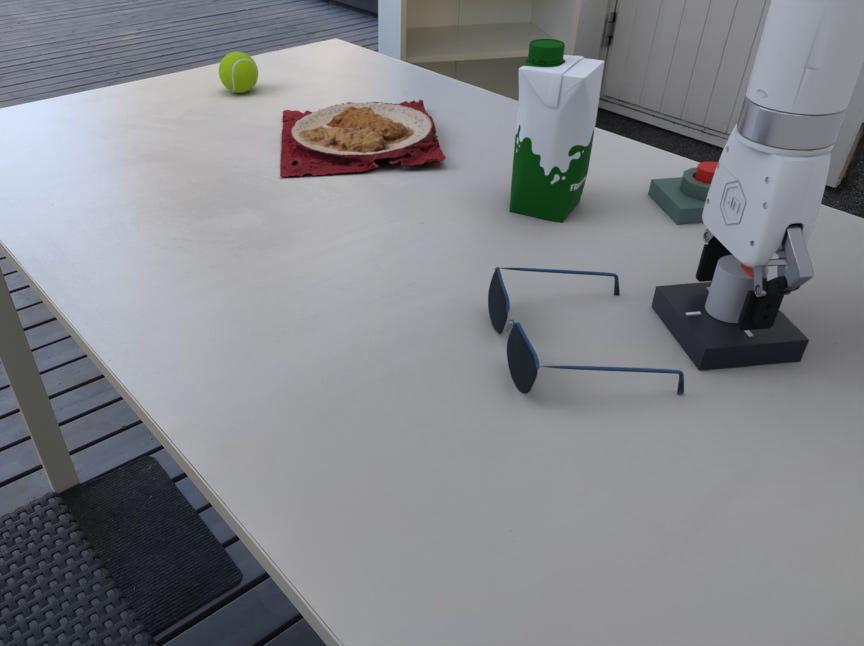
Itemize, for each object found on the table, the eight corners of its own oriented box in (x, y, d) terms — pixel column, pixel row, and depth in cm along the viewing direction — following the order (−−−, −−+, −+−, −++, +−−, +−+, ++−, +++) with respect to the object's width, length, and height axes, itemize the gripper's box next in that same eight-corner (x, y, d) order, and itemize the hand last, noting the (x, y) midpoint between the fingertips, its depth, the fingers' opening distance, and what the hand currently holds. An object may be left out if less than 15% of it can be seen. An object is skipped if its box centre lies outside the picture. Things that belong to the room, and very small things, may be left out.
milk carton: (525, 187, 101) (541, 31, 89) (589, 200, 98) (615, 40, 86) (499, 212, 95) (513, 49, 83) (567, 228, 92) (592, 60, 80)
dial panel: (742, 298, 78) (749, 277, 77) (800, 361, 70) (810, 338, 68) (651, 306, 78) (656, 284, 76) (699, 370, 69) (706, 347, 67)
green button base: (726, 189, 100) (734, 160, 98) (761, 219, 93) (770, 189, 90) (647, 194, 99) (653, 165, 97) (676, 225, 92) (684, 195, 90)
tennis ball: (215, 91, 137) (209, 51, 133) (248, 83, 140) (244, 44, 136) (232, 100, 133) (227, 60, 128) (267, 92, 136) (262, 52, 132)
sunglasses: (482, 302, 79) (491, 260, 76) (612, 308, 81) (627, 268, 78) (521, 408, 65) (534, 362, 62) (677, 412, 67) (697, 368, 64)
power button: (716, 173, 95) (719, 160, 94) (730, 185, 92) (733, 171, 91) (689, 175, 95) (692, 162, 94) (702, 186, 92) (706, 173, 91)
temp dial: (696, 300, 74) (709, 253, 70) (738, 296, 74) (753, 249, 71) (718, 325, 70) (733, 277, 67) (762, 321, 71) (779, 273, 67)
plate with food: (423, 111, 127) (423, 90, 125) (446, 167, 106) (446, 143, 104) (283, 119, 126) (281, 99, 124) (279, 177, 105) (277, 154, 103)
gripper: (697, 91, 68) (657, 260, 78) (803, 167, 54) (738, 360, 64) (776, 87, 68) (725, 255, 79) (901, 161, 54) (820, 353, 65)
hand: (731, 301), depth 71 cm, fingers open, 8 cm apart
